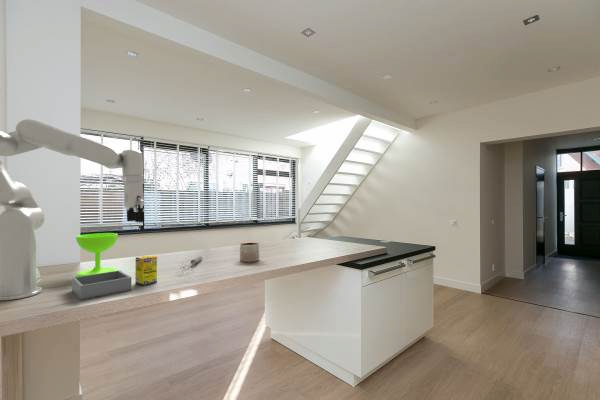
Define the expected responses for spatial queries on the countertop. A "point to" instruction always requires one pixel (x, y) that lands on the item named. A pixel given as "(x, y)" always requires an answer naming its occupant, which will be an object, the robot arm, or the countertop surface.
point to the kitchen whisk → (191, 262)
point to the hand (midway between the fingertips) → (135, 221)
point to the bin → (100, 284)
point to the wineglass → (96, 249)
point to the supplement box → (146, 270)
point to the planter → (249, 252)
